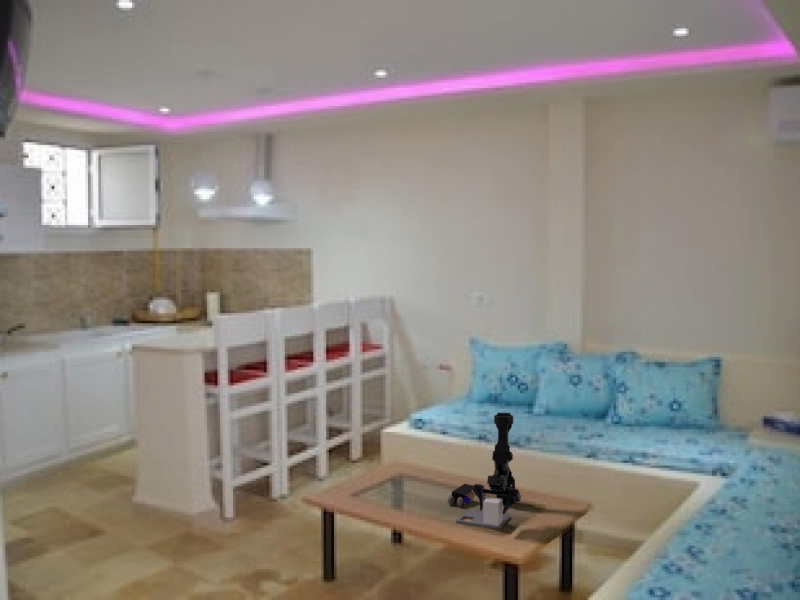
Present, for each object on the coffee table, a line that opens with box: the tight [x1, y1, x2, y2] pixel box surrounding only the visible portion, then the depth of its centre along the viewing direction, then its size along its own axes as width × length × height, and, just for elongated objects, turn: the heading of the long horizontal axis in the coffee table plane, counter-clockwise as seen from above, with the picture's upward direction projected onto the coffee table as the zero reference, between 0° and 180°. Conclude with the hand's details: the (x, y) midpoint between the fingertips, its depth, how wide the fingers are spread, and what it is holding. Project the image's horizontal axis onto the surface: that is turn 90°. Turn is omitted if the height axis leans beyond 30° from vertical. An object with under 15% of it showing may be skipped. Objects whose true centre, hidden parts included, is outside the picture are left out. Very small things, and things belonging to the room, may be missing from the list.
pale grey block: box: [482, 496, 504, 526], centre depth 280 cm, size 6×6×11 cm
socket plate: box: [455, 508, 511, 530], centre depth 286 cm, size 14×18×2 cm
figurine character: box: [447, 483, 475, 507], centre depth 308 cm, size 7×8×15 cm
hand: (492, 512), depth 279 cm, fingers open, 9 cm apart
